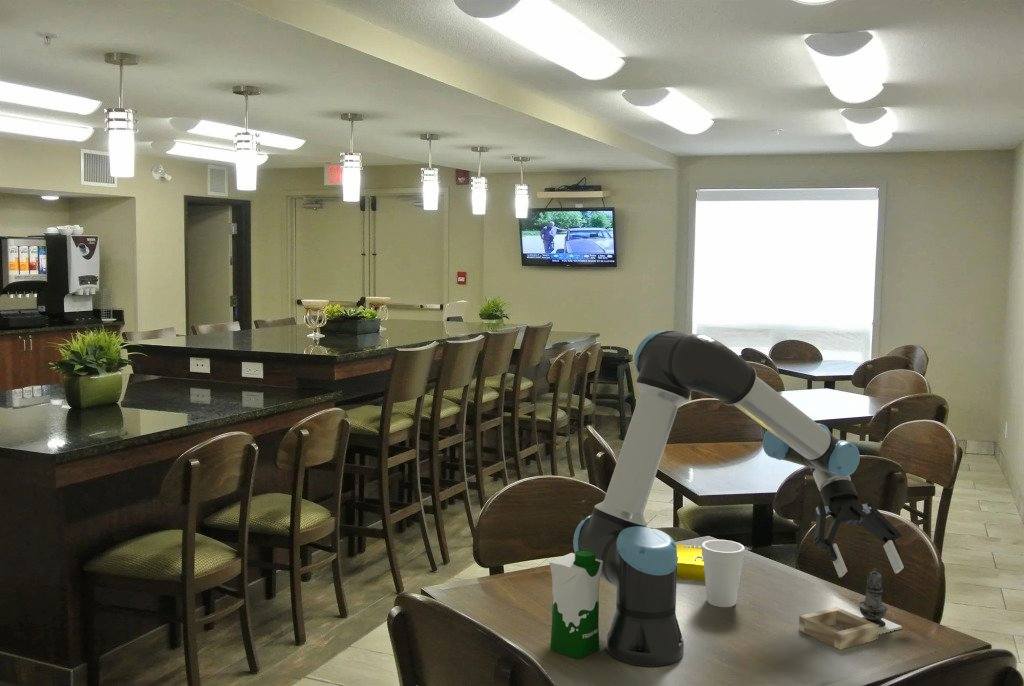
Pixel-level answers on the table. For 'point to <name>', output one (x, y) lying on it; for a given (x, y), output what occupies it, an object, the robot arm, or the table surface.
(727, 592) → the foam cup
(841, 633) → the wooden square frame
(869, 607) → the dark chess piece
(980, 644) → the table surface
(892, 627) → the white mat
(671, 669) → the table surface
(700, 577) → the element tile
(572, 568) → the milk carton
